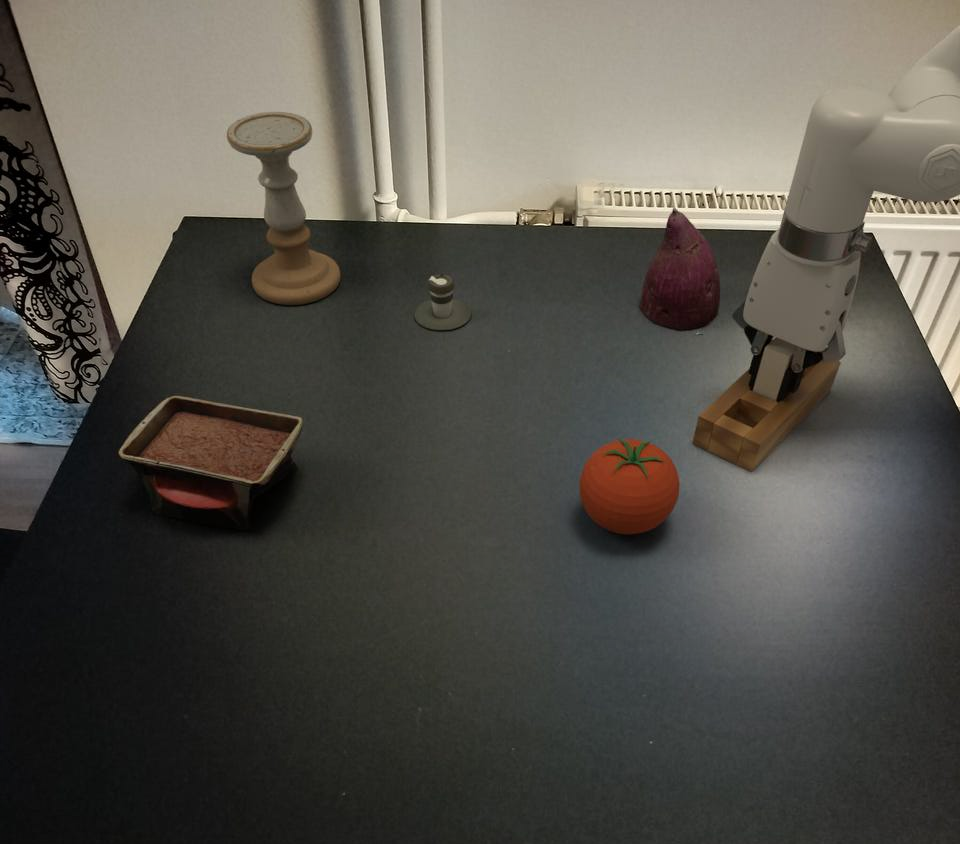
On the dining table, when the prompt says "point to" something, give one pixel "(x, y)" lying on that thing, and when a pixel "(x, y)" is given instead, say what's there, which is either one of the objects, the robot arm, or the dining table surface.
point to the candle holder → (284, 211)
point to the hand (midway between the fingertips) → (771, 386)
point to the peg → (773, 368)
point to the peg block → (758, 417)
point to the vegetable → (682, 278)
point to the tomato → (629, 486)
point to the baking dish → (210, 458)
